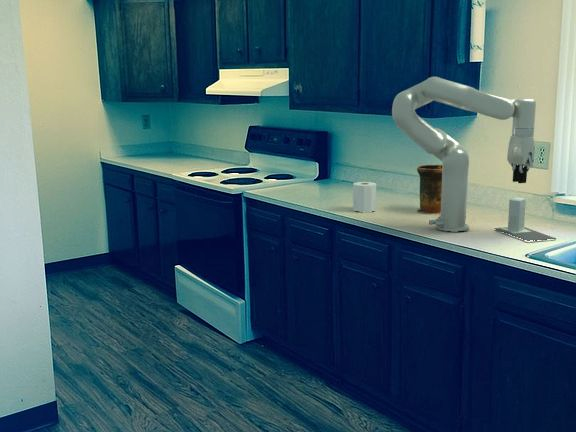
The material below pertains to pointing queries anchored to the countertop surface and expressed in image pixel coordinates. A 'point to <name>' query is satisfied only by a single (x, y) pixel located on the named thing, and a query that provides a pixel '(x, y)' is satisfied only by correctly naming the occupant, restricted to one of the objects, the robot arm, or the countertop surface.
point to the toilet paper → (364, 196)
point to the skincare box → (516, 214)
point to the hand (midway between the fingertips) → (519, 181)
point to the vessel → (430, 188)
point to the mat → (526, 234)
